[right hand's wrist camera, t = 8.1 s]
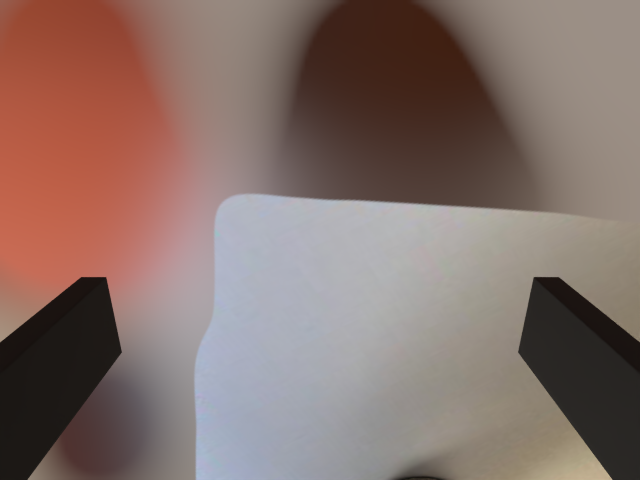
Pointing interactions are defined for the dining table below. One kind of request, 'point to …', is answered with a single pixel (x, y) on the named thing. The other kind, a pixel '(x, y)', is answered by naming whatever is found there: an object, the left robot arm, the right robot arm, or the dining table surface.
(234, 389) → the dining table surface
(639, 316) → the dining table surface
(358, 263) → the dining table surface
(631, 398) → the right robot arm
